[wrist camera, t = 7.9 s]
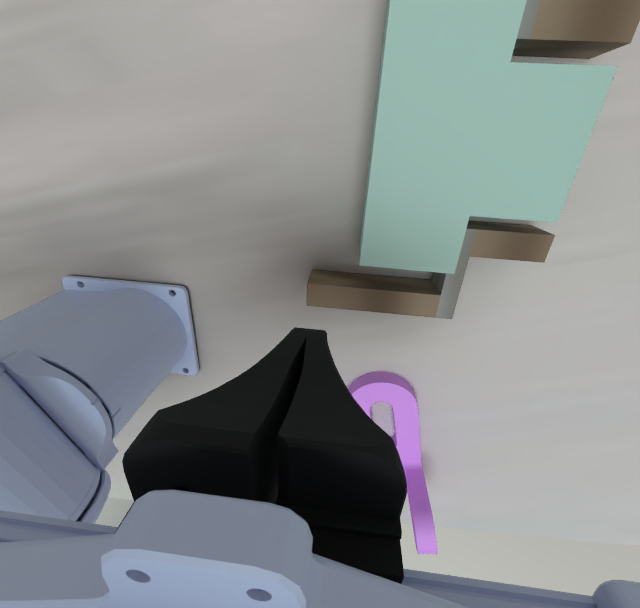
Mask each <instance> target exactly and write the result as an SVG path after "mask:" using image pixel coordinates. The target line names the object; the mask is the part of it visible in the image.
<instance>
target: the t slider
mask: <svg viewBox="0 0 640 608" xmlns="http://www.w3.org/2000/svg"><path fill="white" fill-rule="evenodd" d="M526 1H527V0H387V7H386V16H385V25H384V34H383V43H382V51H381V60H380V69H379V78H378V87H377V95H376V104H375V113H374V122H373V131H372V139H371V148H370V157H369V166H368V175H367V184H366V192H365V201H364V210H363V219H362V228H361V236H360V245H359V266H370V267H381V268H392V269H404V270H415V271H426V272H437V273H448V274H455V270H456V266H457V263H458V259H459V255H460V251H461V247H462V244H463V240H464V236H465V232H466V228H467V225H468V221H469V217H470V216H477V217H490V218H503V219H517V220H530V221H543V222H556V223H557V221H558V218H559V215H560V213H561V210H562V208H563V205H564V203H565V200H566V197H567V195H568V192H569V190H570V187H571V185H572V182H573V179H574V177H575V174H576V172H577V169H578V167H579V164H580V161H581V159H582V156H583V154H584V151H585V149H586V146H587V144H588V141H589V138H590V136H591V133H592V131H593V128H594V126H595V123H596V120H597V118H598V115H599V113H600V110H601V108H602V105H603V102H604V100H605V97H606V95H607V92H608V90H609V87H610V84H611V82H612V79H613V77H614V74H615V72H616V69H617V66H597V65H571V64H544V63H517V62H511V58H512V54H513V50H514V47H515V43H516V39H517V35H518V31H519V28H520V24H521V20H522V16H523V12H524V9H525V5H526Z"/></svg>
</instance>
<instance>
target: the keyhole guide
mask: <svg viewBox="0 0 640 608" xmlns="http://www.w3.org/2000/svg"><path fill="white" fill-rule="evenodd" d="M639 20H640V0H527V1H526V5H525V9H524V12H523V16H522V20H521V24H520V28H519V31H518V35H517V39H516V43H515V47H514V50H513V54H512V56H535V57H560V58H585V59H590V58H593V57H596V56H598V55H601V54H603V53H606V52H608V51H611V50H614V49H616V48H619V47H621V46H624V45H626V44H629V43H631V41H632V38H633V36H634V33H635V31H636V28H637V26H638V23H639ZM554 236H555V235H553V234H551V233H548V232H546V231H543V230H541V229H539V228H536V227H534V226H532V225H522V224H508V223H495V222H481V221H468V225H467V228H466V232H465V236H464V240H463V244H462V247H461V251H460V255H459V259H458V263H457V266H456V270H455V274H448V273H437V272H433V276H432V280H427V279H416V278H404V277H392V276H381V275H369V274H358V273H346V272H334V271H323V270H312V272H311V275H310V278H309V280H308V283H307V306H317V307H328V308H339V309H349V310H360V311H371V312H381V313H392V314H403V315H413V316H424V317H435V318H445V319H452V317H453V313H454V310H455V306H456V303H457V299H458V295H459V292H460V288H461V285H462V281H463V278H464V274H465V270H466V267H467V263H468V260H469V256H470V257H483V258H495V259H507V260H520V261H532V262H545V259H546V257H547V254H548V251H549V249H550V246H551V244H552V241H553V239H554Z"/></svg>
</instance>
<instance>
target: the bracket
mask: <svg viewBox="0 0 640 608" xmlns="http://www.w3.org/2000/svg"><path fill="white" fill-rule="evenodd" d="M348 390H349V392H350V393H351V395H352V396H353V398H354V399H355V400H356V402H357V403H358V404H359V405H360V407H361V408H362V409H363V410H364V412H365V413H366V414H367V415H368V416H369V417H370V418H371V419H372V417H371V410H370V407H371V405H372V404H374V403H376V402H379V401H384V402H387V403H389V404H391V405H392V407H393V414H394V423H395V434H394V436H392V437H391V438H392V439H393V441H394V443H395V445H396V448H397V450H398V453H399V456H400V459H401V462H402V465H403V468H404V472H405V476H406V481H407V492H408V498H409V504H410V511H411V517H412V524H413V530H414V536H415V543H416V548H417V553H418V554H437V541H436V534H435V527H434V522H433V516H432V511H431V506H430V502H429V497H428V492H427V488H426V483H425V478H424V474H423V469H422V463H421V449H420V433H419V417H418V405H417V401H416V397H415V393H414V390H413V388H412V386H411V385H410V384H409V383H408V382H407V381H406V380H405V379H404V378H402V377H400V376H398V375H396V374H392V373H388V372H373V373H369V374H365V375H363V376H361V377H359V378H358V379H356V380H355V381H354V382H353V383H352V384H351V385H350V387H349V389H348Z"/></svg>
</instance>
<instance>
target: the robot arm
mask: <svg viewBox="0 0 640 608" xmlns="http://www.w3.org/2000/svg"><path fill="white" fill-rule="evenodd" d="M81 282H82V283H83V284H84V285H83V284H82V283H81ZM62 284H63V287H64V291H62V292H60V293H57V294H55V295H53V296H51V297H49V298H47V299H45V300H43V301H41V302H39V303H37V304H35V305H33V306H30V307H28V308H26V309H24V310H22V311H20V312H18V313H16V314H14V315H12V316H10V317H8V318H6V319H3V320H1V321H0V608H640V583H639V582H632V581H625V580H610V581H606V582H604V583H602V584H601V585H599V587H598V588H597V589H596V591H595V592H594V594H593V596H587V595H580V594H573V593H566V592H560V591H553V590H546V589H539V588H532V587H525V586H519V585H511V584H504V583H498V582H491V581H484V580H477V579H470V578H463V577H457V576H450V575H442V574H436V573H429V572H422V571H415V570H408V569H403V564H402V554H401V546H400V539H401V533H402V532H401V523H400V515H401V512H402V508H403V505H404V501H405V498H406V494H407V481H406V476H405V472H404V468H403V465H402V462H401V459H400V456H399V453H398V450H397V448H396V445H395V443H394V441H393V439H392V438H391V437H390V436H389V435H388V434H387V433H386V432H384V431H383V430H382V429H381V428H380V427H379V426H378V425H377V424H375V423H374V422H373V421H372V419H371V418H370V417H369V416H368V415H367V414H366V413H365V412H364V410H363V409H362V408H361V407H360V405H359V404H358V403H357V402H356V400H355V399H354V398H353V396H352V395H351V393H350V392H349V390H348V389H347V387H346V385H345V384H344V382H343V380H342V378H341V376H340V375H339V372H338V370H337V368H336V366H335V364H334V361H333V358H332V356H331V353H330V350H329V346H328V342H327V333H326V332H325V330H315V329H304V328H294V329H292V330H291V332H290V333H289V334H288V335H287V336H286V337H285V338H284V339H283V340H282V341H281V342H280V343H279V344H278V345H277V346H276V347H275V348H274V349H273V350H272V351H271V352H270V353H268V354H267V355H266V356H265V357H264V358H262V359H261V360H260V361H259V362H258V363H256V364H255V365H254V366H252V367H251V368H250V369H248V370H247V371H245V372H244V373H242V374H241V375H239V376H238V377H236V378H234V379H232V380H231V381H229V382H227V383H225V384H223V385H221V386H220V387H218V388H216V389H214V390H211V391H209V392H207V393H205V394H202V395H200V396H198V397H195V398H193V399H190V400H188V401H185V402H182V403H179V404H176V405H173V406H170V407H167V408H164V409H161V410H158V411H157V413H156V414H155V415H154V416H153V417H152V418H151V419H150V421H149V422H148V423H147V424H146V425H145V427H144V428H143V429H142V431H141V432H140V433H139V435H138V436H137V437H136V439H135V440H134V441H133V443H132V444H131V445H130V447H129V448H128V449H127V451H126V452H125V454H124V457H123V461H122V462H123V468H124V473H125V476H126V479H127V482H128V484H129V487H130V490H131V493H132V496H133V499H134V503H133V504H132V506H131V508H130V509H129V511H128V512H127V514H126V516H125V517H124V519H123V520H122V522H121V524H120V525H119V527H112V526H105V525H98V524H95V522H96V520H97V519H98V517H99V515H100V513H101V511H102V508H103V506H104V504H105V502H106V500H107V498H108V494H109V491H110V487H111V479H110V475H109V474H108V472H107V471H106V470H105V468H106V467H107V465H108V464H109V463H110V461H111V460H112V459H113V458H114V456H115V455H116V454H117V453H118V449H117V448H116V447H115V445H114V443H113V441H112V440H113V439H114V438H115V436H116V435H117V434H118V433H119V432H120V430H121V429H122V428H123V427H124V426H125V424H126V423H127V422H128V421H129V420H130V418H131V417H132V416H133V415H134V414H135V412H136V411H137V410H138V409H139V408H140V406H141V405H142V404H143V403H144V402H145V400H146V399H147V398H148V397H149V396H150V394H151V393H152V392H153V391H154V390H155V389H156V387H157V386H158V385H159V384H160V383H161V381H162V380H163V379H164V378H165V377H166V375H167V374H168V373H172V374H181V375H190V376H195V375H197V373H198V372H199V364H198V357H197V350H196V344H195V337H194V330H193V323H192V317H191V310H190V303H189V296H188V291H187V289H186V288H185V287H183V286H179V285H169V284H158V283H147V282H136V281H125V280H114V279H103V278H93V277H82V276H71V275H69V276H65V277H63V278H62ZM172 290H174V291H175V293H176V294H174V293H172ZM185 368H187V369H188V370H186V369H185Z"/></svg>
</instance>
